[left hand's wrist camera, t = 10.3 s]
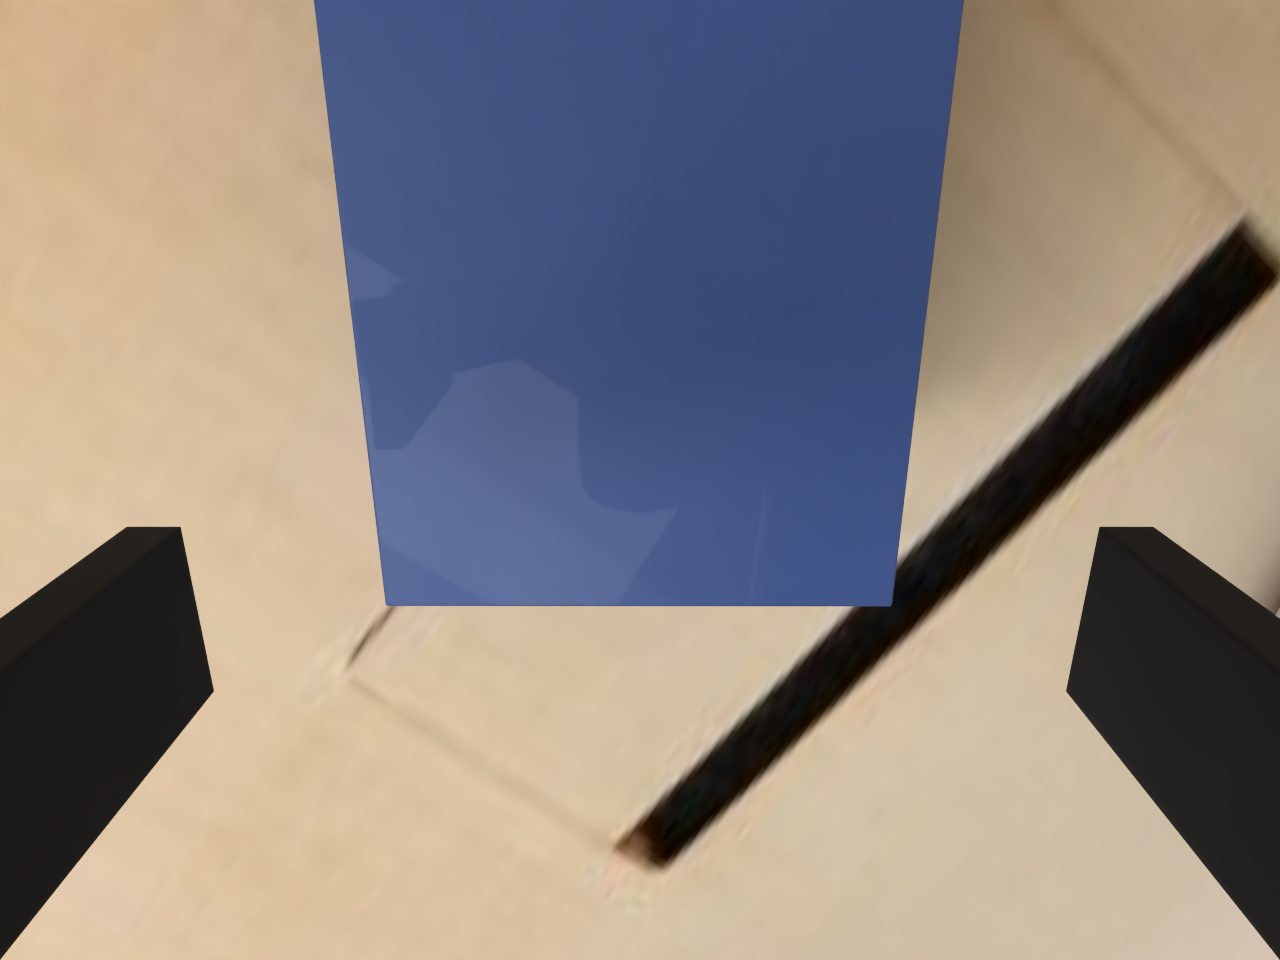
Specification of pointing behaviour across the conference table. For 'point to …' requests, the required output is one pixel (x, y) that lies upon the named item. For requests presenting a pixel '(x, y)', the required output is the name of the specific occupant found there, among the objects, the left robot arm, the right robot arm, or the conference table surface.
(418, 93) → the cabinet
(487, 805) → the conference table surface
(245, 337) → the conference table surface
